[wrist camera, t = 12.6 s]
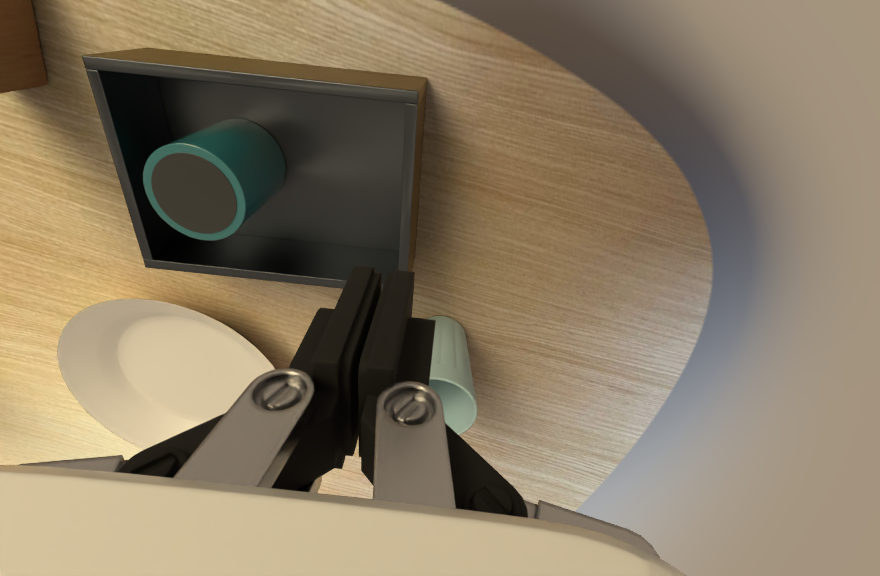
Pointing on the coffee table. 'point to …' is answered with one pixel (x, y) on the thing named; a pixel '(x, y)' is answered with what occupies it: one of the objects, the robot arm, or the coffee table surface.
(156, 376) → the white plate
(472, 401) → the cup
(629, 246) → the coffee table surface
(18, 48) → the wooden block
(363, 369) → the robot arm
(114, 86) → the dark grey shallow box
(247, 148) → the pot
